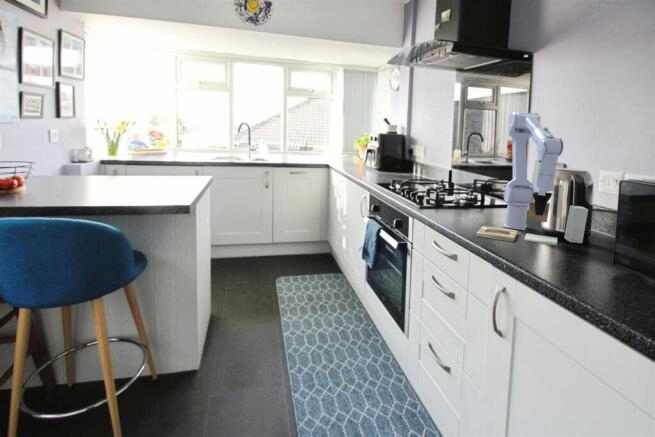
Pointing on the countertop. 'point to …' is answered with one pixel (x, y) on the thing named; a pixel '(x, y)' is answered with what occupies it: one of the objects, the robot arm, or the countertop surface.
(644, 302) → the countertop surface
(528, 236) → the sage tile
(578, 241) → the skincare box
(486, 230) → the pocket plate
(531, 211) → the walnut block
